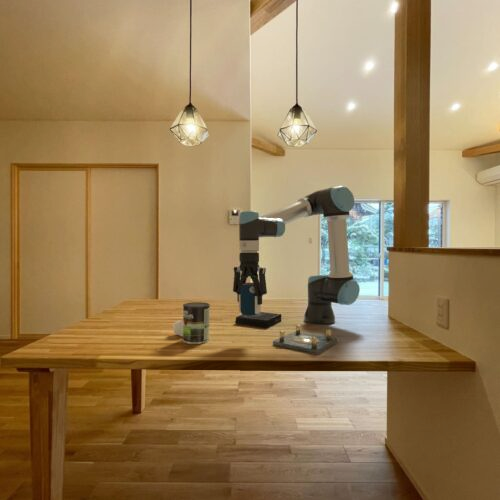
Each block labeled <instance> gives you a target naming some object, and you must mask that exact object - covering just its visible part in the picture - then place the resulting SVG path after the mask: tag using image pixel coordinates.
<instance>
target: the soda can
mask: <svg viewBox="0 0 500 500" xmlns="http://www.w3.org/2000/svg"><path fill="white" fill-rule="evenodd" d="M256 295H257V294H256V291H255V288H254V285H253V282H246V283H242V286H241V288H240V297H241V311H240V313H241V315H243V316H256V315H257V314H255V296H256Z"/></svg>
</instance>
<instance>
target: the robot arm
mask: <svg viewBox="0 0 500 500" xmlns="http://www.w3.org/2000/svg"><path fill="white" fill-rule="evenodd" d="M354 206H355V196H354V195H353V192H352V191H351V190H350V189H349V188H348V187H347V186H344V185H339V186H333V187H328V188H324V189H320V190H316V191H314V192H312V193H310V194H307V195H305V196H304V197H300V198H299V199H297V202H294V203H292V204H288V205H287V206H284V207H281V208H278V209H277V210H276V209H275V210H274V211H271V212H268V213H267V214H263V215H261V216H260V213H259V212H258V211H255V210H247V211H246V210H244V211H241V212H239V216H238V217H239V218H238V228H239V229H238V230H239V231H238V233H239V236H238V237H239V251H240V252H239V257H238V258H239V266H234V267H233V272H234V273H233V276H234V277H233V287H232V291H233V293H235V294H237V296H236V297H237V303H238V312H241V297H240V288H241V286H242V283H247V280H248V278H249V277H250V280H252V283H253V285H254V288H255V291H256V294H257V295H256V296H255V314H258V313H261V312H262V310H261V309H262V307H261V305H263V296H264V295H267V293H268V290H267V281H266V279H267V278H266V271H267V268H266V267H260V265H259V262H260V253H259V251H260V238H277V237H282V236H284V234H285V232H286V225H287V224H289V223H292V222H295V221H297V220H298V219H301V218H309V217H311V216H317V215H323V216H322V217H323V219H324V220H325V221H326V225H327V241H328V255H329V256H328V258H329V269H330V270H329V273H328V274H321V275H320V274H317V275H310V276H309V277H308V280H307V306H306V310H305V313H304V317H303V318H304V319H303V321H304V322H307V323H311V324H316V325H318V324H319V325H329V324H333V323H335V322H336V316H335V313H334V310H333V306H332V304H333V303H334V304H338V305H341V306H342V305H345V306H346V305H347V306H350V305H353V304H354V303H355V302H356V301H357V300H358V298H359V295H360V285H359V283H358V281H357V280H355V279H354V274H353V273H352V272H351V271H350V258H349V257H350V256H349V245H348V243H349V242H348V241H349V240H348V227H347V226H348V224H347V219H348V218H349V217H350V211H352V210H353V208H354Z"/></svg>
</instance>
